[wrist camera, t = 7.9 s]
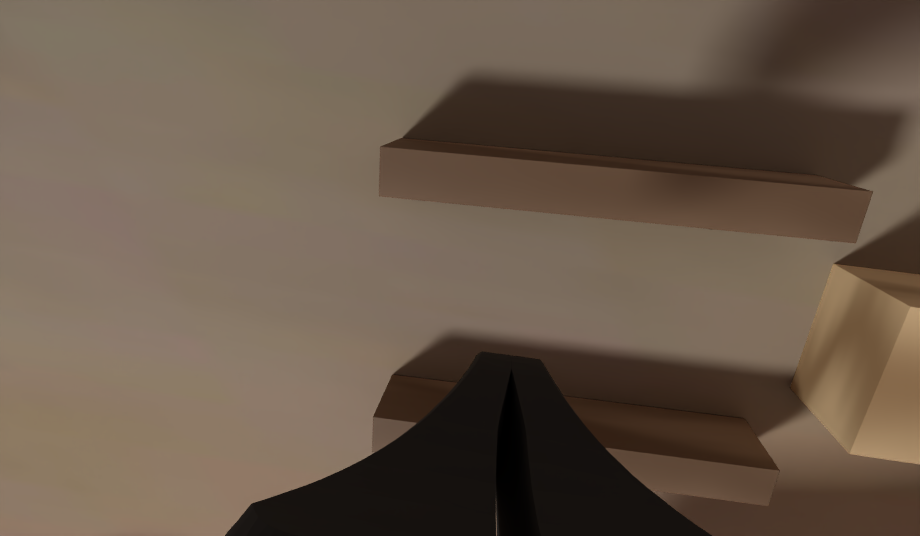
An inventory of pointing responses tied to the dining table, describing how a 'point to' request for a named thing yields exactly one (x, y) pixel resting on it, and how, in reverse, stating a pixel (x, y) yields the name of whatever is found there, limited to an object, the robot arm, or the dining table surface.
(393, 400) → the walnut channel
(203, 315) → the dining table surface
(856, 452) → the oak block
